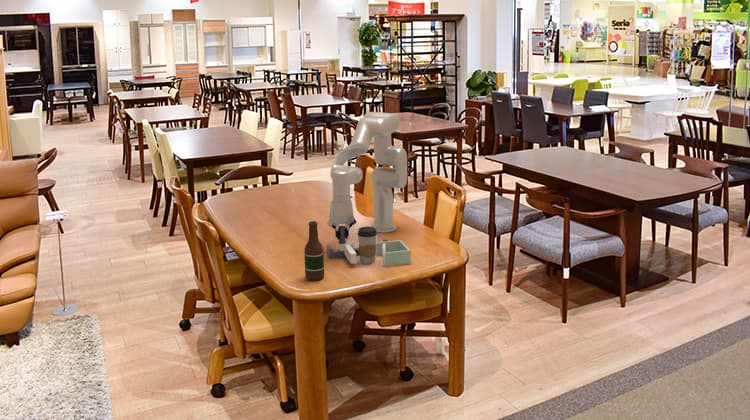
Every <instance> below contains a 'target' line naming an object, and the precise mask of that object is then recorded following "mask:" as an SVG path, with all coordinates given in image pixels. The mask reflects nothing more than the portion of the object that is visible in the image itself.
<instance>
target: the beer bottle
mask: <svg viewBox="0 0 750 420" xmlns="http://www.w3.org/2000/svg"><path fill="white" fill-rule="evenodd" d="M318 224H319V223H318V222H317V221H314V220H313V221H309V222H308V241H307V243H306V244H305V246H304V250H303V251H304V254H303V255H304V273H305V274H304V276H305V279H306V280H307V281H310V282H318V281H321V280H322V279H324V278H325V255H324V247H323V245H322V243H321V241H320V239H319V232H318Z"/></svg>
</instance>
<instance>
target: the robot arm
mask: <svg viewBox="0 0 750 420" xmlns="http://www.w3.org/2000/svg"><path fill="white" fill-rule="evenodd" d="M400 121H401V120H400V117H399V115H397V113H392V112H379V111H368V112H366V113H365V114H364V116H363V117H362V118H360V119H359V120H358V122H357V125H356V128H355V130H354V133H353V135H352V138H351V142H350V144H348V145H347V146H346V147H344V148H343V149H342V150H341V151H340V152H338V153H337V155H336V156H335V157H334V160H333V163H332V164H331V168H330V173H329V174H330V175H329V176H330V179H331V180H332V181H331V183H332V200H330V204H329V219H328V221H327V222H326V224H327V226H328V227H331V228H332V229H334V231H335V232H334V233H335V238H336V239H337V240H338V241H339V239H340V232H339V226H340V225H344V224H345V225H344V226H345V233H346V240H347V239H349V236H350V229H351V228H352V226H354V225H356V224H358V223H357V219H356V218H355V216H354V214H355V213H354V207H353V202H352V200H351V199H353V198H354V194H351V185H357V184H358V183H360V182H361V181H362V179H363V177H364V175H363V170H362V169H361V168H360V167H357V166H351V165H350V166H349V165H345V164H346V163H347V162H348V161H349V160H352V159H354V158H357V157H358V156H361V155H364V154H367V153H368V152H369V149H370V146H371V143H372V141H373V156H374V162H375V164H377V165H382V166H378V167H375V168H373V170H372V172H371V183H372V187H373V188H372V189H373V224H372V225H371V226H370V227H373V228H375V229H376V231H377V233H378V234H379V233H382V234H385V233H386V234H387V233H393V232H395V231H396V230H397V226H396V225H395V224H394V194H393V191H392V189H403V188H405V186H406V185H407V181H408V155H407V152H406V149H404V148H403V147H401V146H397V145H396V146H395V145H392V134H393V133H395V132H397V130H398V129H399V127H400ZM386 166H387V167H386ZM390 166H391V167H390ZM391 188H392V189H391Z"/></svg>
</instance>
